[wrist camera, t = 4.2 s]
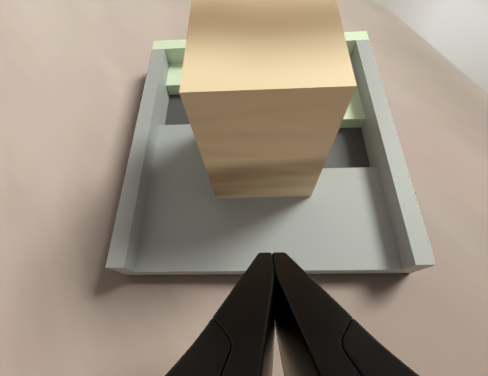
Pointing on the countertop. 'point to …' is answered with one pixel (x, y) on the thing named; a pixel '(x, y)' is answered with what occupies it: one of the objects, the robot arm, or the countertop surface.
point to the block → (265, 92)
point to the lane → (267, 208)
